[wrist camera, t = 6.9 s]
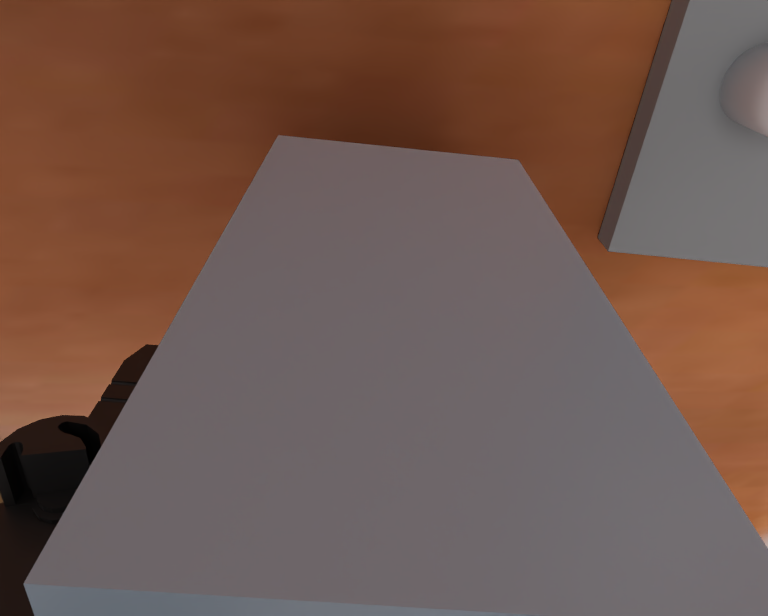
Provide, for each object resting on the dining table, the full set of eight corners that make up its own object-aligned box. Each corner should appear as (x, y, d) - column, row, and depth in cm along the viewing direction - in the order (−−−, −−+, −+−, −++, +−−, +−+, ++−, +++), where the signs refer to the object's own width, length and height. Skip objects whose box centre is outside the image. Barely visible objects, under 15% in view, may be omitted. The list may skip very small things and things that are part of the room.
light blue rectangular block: (275, 398, 16) (146, 935, 7) (277, 134, 12) (22, 584, 4) (461, 413, 16) (551, 949, 7) (518, 159, 12) (822, 631, 4)
